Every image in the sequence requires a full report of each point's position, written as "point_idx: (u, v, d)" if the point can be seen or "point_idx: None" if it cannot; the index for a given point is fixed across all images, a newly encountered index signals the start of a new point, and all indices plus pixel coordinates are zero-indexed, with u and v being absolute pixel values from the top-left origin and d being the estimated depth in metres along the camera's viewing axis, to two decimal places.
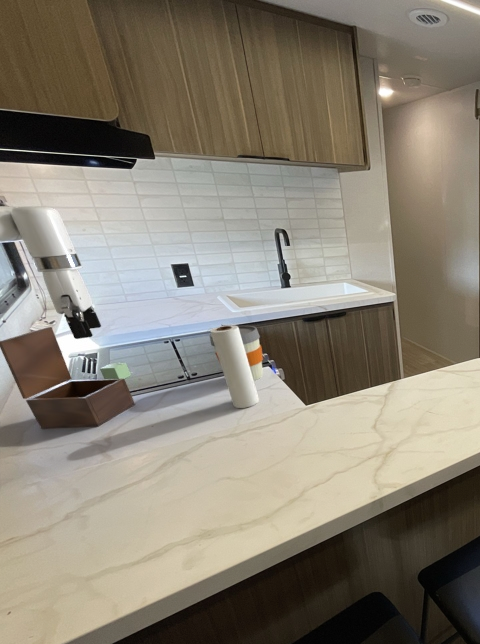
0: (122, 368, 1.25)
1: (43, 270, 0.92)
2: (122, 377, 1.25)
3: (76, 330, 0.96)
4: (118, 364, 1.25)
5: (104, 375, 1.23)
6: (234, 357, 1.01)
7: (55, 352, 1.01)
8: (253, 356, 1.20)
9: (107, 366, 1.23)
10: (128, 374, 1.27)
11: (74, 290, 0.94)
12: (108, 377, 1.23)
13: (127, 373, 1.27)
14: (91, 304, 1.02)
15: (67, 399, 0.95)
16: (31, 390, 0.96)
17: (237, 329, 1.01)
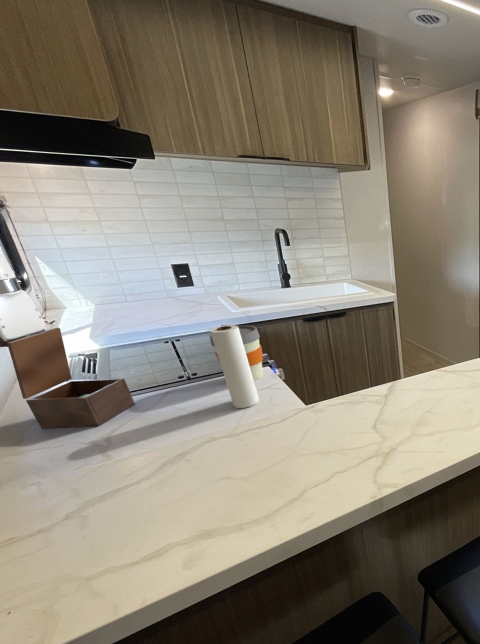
0: None
1: None
2: None
3: None
4: None
5: None
6: (234, 357, 1.01)
7: (60, 353, 1.01)
8: (253, 356, 1.20)
9: None
10: None
11: None
12: None
13: None
14: (39, 329, 0.97)
15: (67, 399, 0.95)
16: (32, 390, 0.96)
17: (237, 329, 1.01)
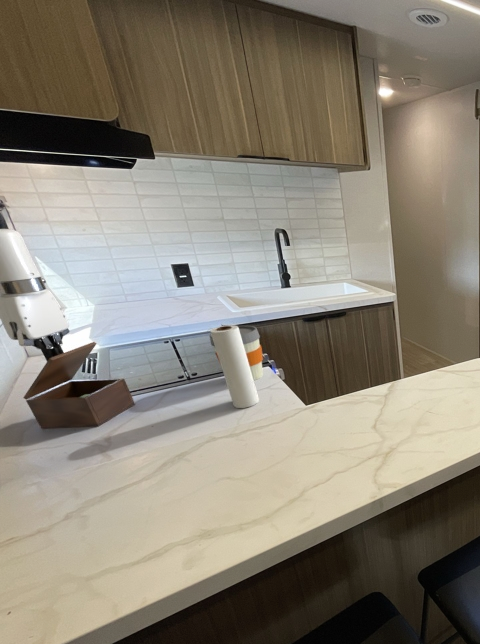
0: None
1: None
2: None
3: (45, 356, 0.95)
4: None
5: None
6: (234, 357, 1.01)
7: (80, 361, 1.02)
8: (253, 356, 1.20)
9: None
10: None
11: (20, 318, 0.88)
12: None
13: None
14: (63, 329, 0.97)
15: (67, 399, 0.95)
16: (36, 392, 0.96)
17: (237, 329, 1.01)
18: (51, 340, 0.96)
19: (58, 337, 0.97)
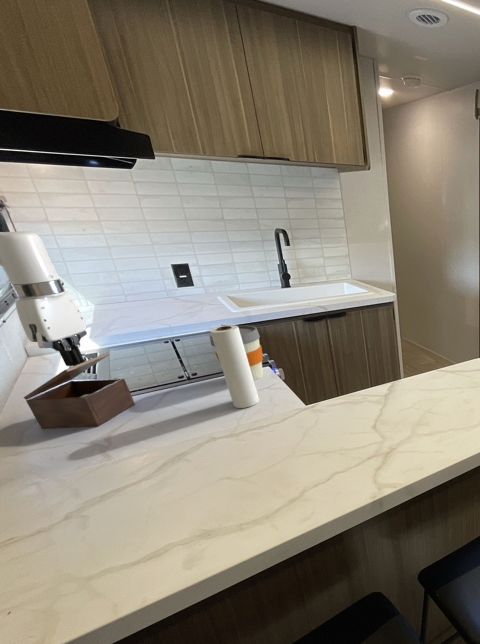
0: None
1: (18, 297, 0.88)
2: None
3: (64, 358, 0.96)
4: None
5: None
6: (234, 357, 1.01)
7: (87, 367, 1.03)
8: (253, 356, 1.20)
9: None
10: None
11: (40, 320, 0.89)
12: None
13: None
14: (80, 331, 0.97)
15: (67, 399, 0.95)
16: (37, 394, 0.96)
17: (237, 329, 1.01)
18: (69, 342, 0.97)
19: (76, 339, 0.97)
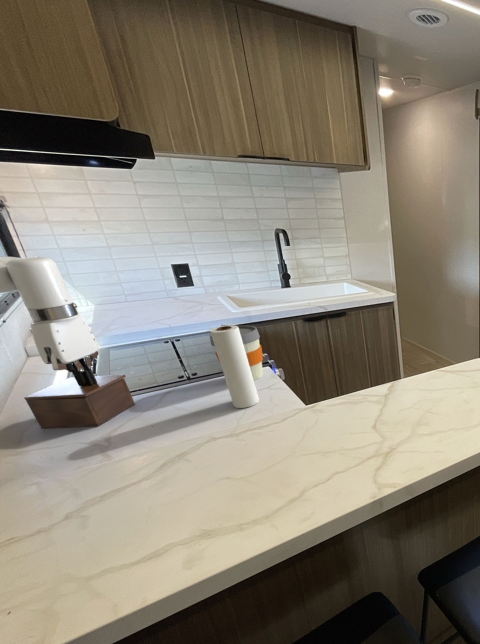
0: None
1: (33, 321, 0.90)
2: None
3: (77, 379, 0.98)
4: None
5: None
6: (234, 357, 1.01)
7: None
8: (253, 356, 1.20)
9: None
10: None
11: (55, 343, 0.91)
12: None
13: None
14: (93, 352, 1.00)
15: (67, 399, 0.95)
16: None
17: (237, 329, 1.01)
18: (82, 363, 0.99)
19: (88, 360, 0.99)
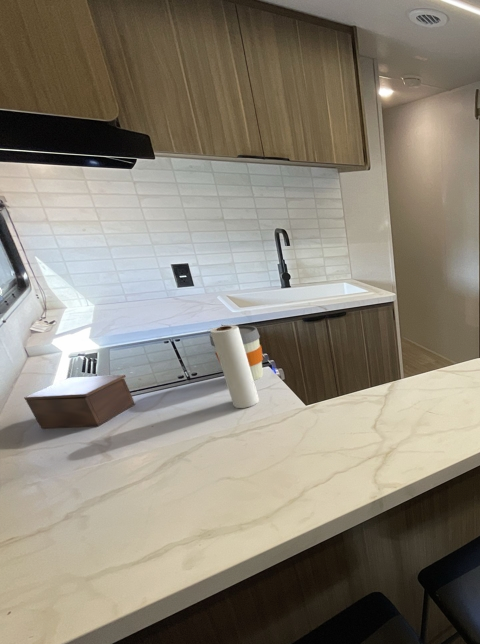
0: None
1: None
2: None
3: None
4: None
5: None
6: (234, 357, 1.01)
7: None
8: (253, 356, 1.20)
9: None
10: None
11: None
12: None
13: None
14: None
15: (67, 399, 0.95)
16: None
17: (237, 329, 1.01)
18: None
19: None
